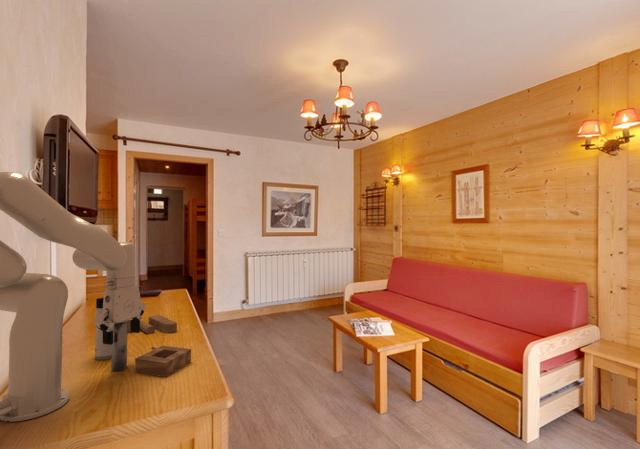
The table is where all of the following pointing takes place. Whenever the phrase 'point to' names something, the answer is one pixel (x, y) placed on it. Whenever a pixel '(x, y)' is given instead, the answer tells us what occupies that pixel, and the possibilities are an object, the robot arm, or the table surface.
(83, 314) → the table surface
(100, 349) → the travel mug
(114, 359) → the round metal rod
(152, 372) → the brown hollow tray
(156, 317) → the wooden block set
